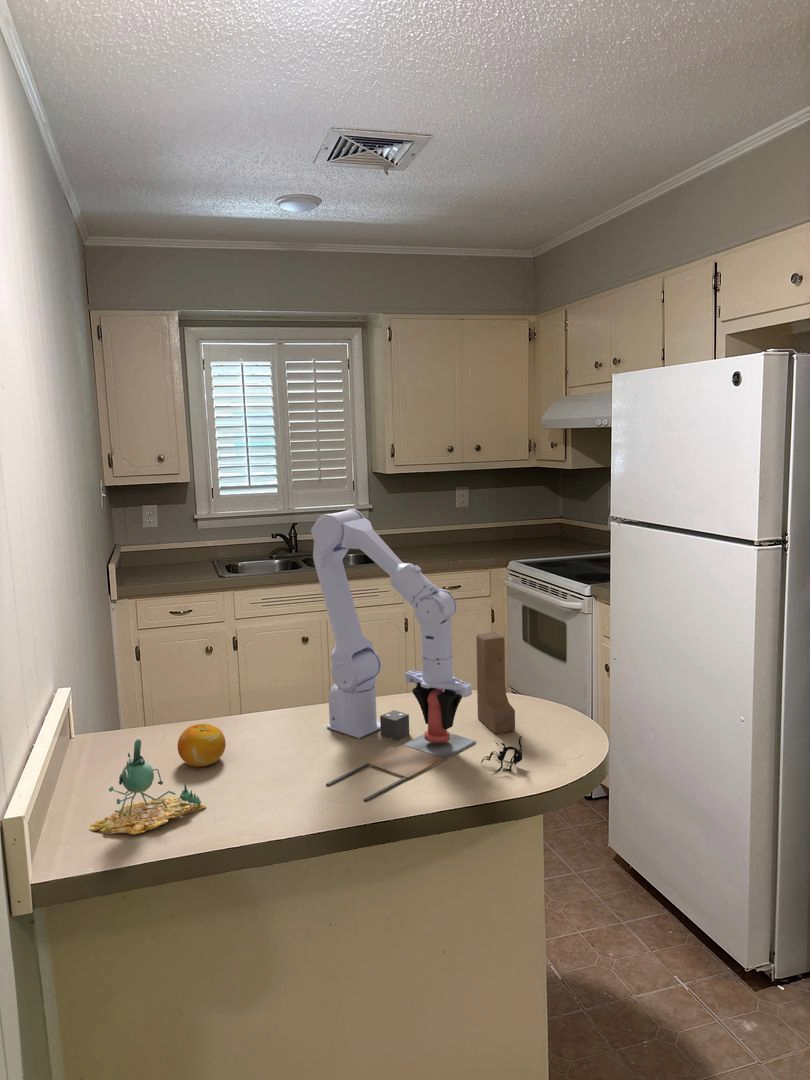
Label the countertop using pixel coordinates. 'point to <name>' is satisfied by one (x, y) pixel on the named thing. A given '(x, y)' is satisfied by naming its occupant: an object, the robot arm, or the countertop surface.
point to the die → (394, 725)
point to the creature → (501, 757)
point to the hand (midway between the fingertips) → (438, 725)
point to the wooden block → (493, 684)
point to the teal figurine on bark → (146, 812)
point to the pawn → (435, 720)
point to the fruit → (201, 745)
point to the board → (412, 759)
